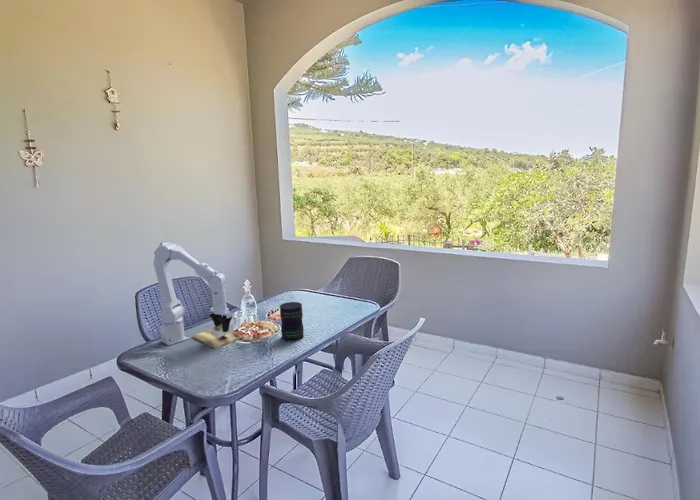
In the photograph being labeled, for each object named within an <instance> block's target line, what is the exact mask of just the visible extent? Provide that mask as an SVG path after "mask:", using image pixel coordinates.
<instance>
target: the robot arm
mask: <svg viewBox="0 0 700 500" xmlns="http://www.w3.org/2000/svg"><path fill="white" fill-rule="evenodd" d="M153 254H154V259H153V267H154V271H155V274H156V277H157V282H158V286H159V290H160V294H161V297H162V301H163V304H162V306H161V319H162V321H163V322H164V323H163V324H161V325H160V327H159V331H160V338H161V340H160V342H161V343H163V344H165V345H167V346H171V345H174V344H178V343H180V342H183V341H187V340H189V337H187V336H185V328H184V327H185V326H184V317H183V316H184V315H185V313H186V309H185V306H183V305H182V302H181V300H180V299H178V298H177V295H176V292H175V287H174V284H173V280H172V277H171V272H170V269H169V264H170V263H171V261H173V260H175V261H178V260H179V261H181V263H182V262H183V263H184V264H186V265H187V266H189V267H190V268H191V269H193V270H194V272H195V274H196V275H198V276H199V277H200V278H202V279H203V280H204V281H206V282H207V284H208V286H209V287H210V289H211V299H212V307H210V308H209V311H210V314H209V317H210V318H211V320H212V322H213V324H214V327H216V326H219V325H222V329H223V332H227V331H228V330H229V324H230V325H231V321H232V319H233V315H232V312H230V308H229V307H227V306H228V305H227V304H228V303H227V294H226V285H225V284H226V283H227V282H226V281H227V277H226V275H225V274H224V273H223V272H219V271H217V270H215V269H213V268H212V267H210V264H209V263H208V262H207V263H205V262H201V263H200V262H199V261H198V260H197V259H196V258H194V257H193V256H192V255H190V254H189V253H188V252H187V251H185V250H184V248H183V247H182V246H181V245H179V244H178V243H176V242H174V241H173V242H169V243H167V244H163V245H159V246H158V247H157V248H156V249H155V250H154V253H153Z"/></svg>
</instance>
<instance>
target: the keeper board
mask: <svg viewBox="0 0 700 500" xmlns="http://www.w3.org/2000/svg"><path fill="white" fill-rule="evenodd" d="M233 333H234V332H233ZM233 333H230V334H227V335H224V336H221V337H215V336H213V335H211V329H208V330H204V331H202V332H199V333H198V332H197V333H196V334H192V335H191V338H192V339H194V340H196V341H199V342H201V343H203V344H205V345H207V346H209V347H211V348H213V349H217V348H220V347H222V346H225V345H228V344H232V343H233V342H237V341H238V340H237V338H235V337H234V335H233Z"/></svg>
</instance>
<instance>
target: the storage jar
mask: <svg viewBox="0 0 700 500" xmlns="http://www.w3.org/2000/svg"><path fill="white" fill-rule="evenodd" d="M302 305H303V303H301V302H299V301H298V302H297V301H290V302H284V303H281V304H280V305H279V313H280V314H279V315H280V316H279V317H280V319H281V327H280V328H281V329H280V331H281V339H282V340H283V341H285V342H297V341H300V339H301V340H302V339H304V337H305V336H304V331H305V329H304V324H303V306H302Z"/></svg>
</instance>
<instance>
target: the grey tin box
mask: <svg viewBox="0 0 700 500" xmlns="http://www.w3.org/2000/svg"><path fill="white" fill-rule="evenodd" d="M210 330H211V335H213V336H215V337H221V336H224V335H227V334H230V333H235V330H234V325H232V324H231V323H230V324H229V330H228V331H227V332H223V329H222V325H219V326H216V327H215V326H213V327H211V328H210Z"/></svg>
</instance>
